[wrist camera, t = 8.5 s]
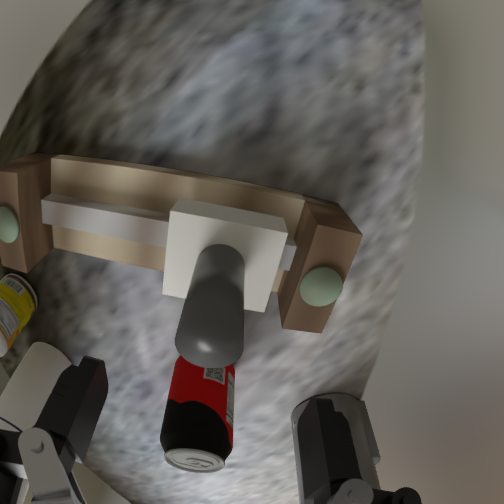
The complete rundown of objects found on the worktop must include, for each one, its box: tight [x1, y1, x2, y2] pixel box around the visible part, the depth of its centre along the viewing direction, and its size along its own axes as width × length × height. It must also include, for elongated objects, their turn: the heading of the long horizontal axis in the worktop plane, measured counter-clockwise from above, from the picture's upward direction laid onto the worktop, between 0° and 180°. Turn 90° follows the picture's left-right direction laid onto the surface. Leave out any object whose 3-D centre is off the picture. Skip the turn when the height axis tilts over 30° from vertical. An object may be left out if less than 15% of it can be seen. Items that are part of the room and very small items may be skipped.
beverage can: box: [160, 356, 235, 473], centre depth 26 cm, size 6×6×12 cm
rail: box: [0, 152, 363, 333], centre depth 21 cm, size 26×8×6 cm, turn 78°
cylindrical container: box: [0, 342, 72, 504], centre depth 21 cm, size 7×7×25 cm
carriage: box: [163, 198, 288, 368], centre depth 17 cm, size 7×6×10 cm
